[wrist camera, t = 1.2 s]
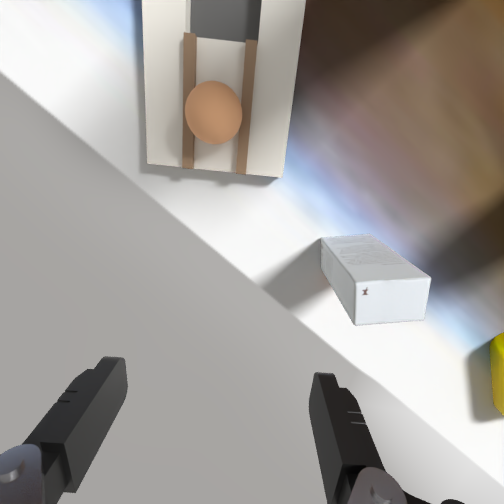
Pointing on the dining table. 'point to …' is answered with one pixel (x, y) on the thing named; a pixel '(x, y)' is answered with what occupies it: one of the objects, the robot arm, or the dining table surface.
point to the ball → (213, 112)
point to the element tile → (497, 371)
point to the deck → (221, 79)
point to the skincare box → (373, 280)
